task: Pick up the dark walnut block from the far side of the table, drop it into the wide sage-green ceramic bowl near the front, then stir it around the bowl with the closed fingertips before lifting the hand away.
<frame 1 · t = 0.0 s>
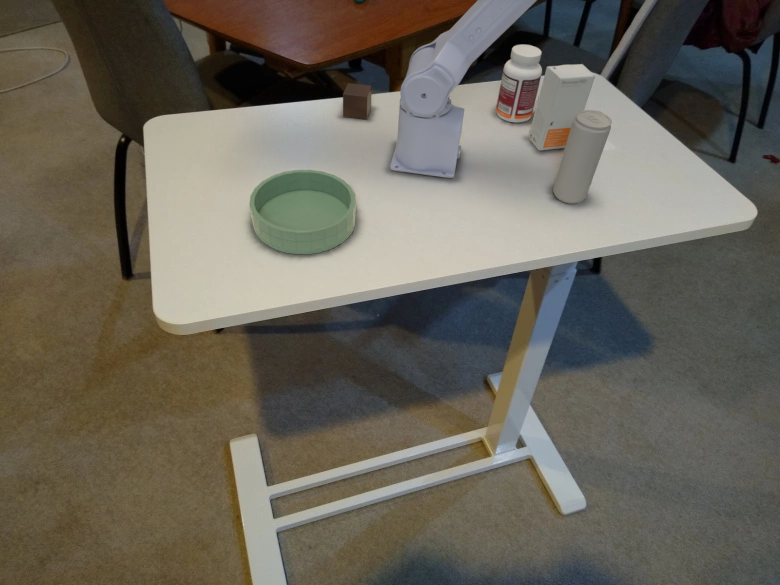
bowl: (304, 220, 75), on the table
beverage can: (567, 196, 82), on the table
cosmetic box: (549, 144, 92), on the table
block: (357, 112, 95), on the table
pill bottle: (512, 115, 98), on the table
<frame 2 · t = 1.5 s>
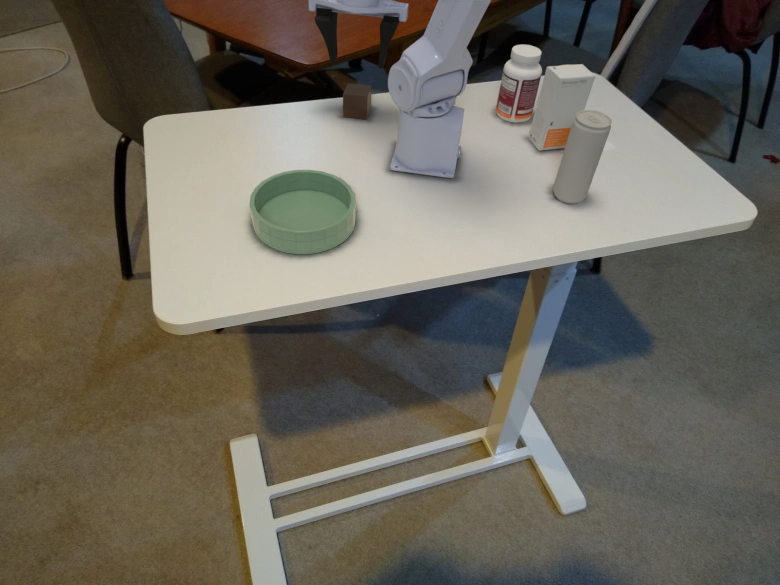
hand: (357, 62, 89), 8 cm above the table, tool pointing down, fingers open, 7 cm apart
nothing on the table moved.
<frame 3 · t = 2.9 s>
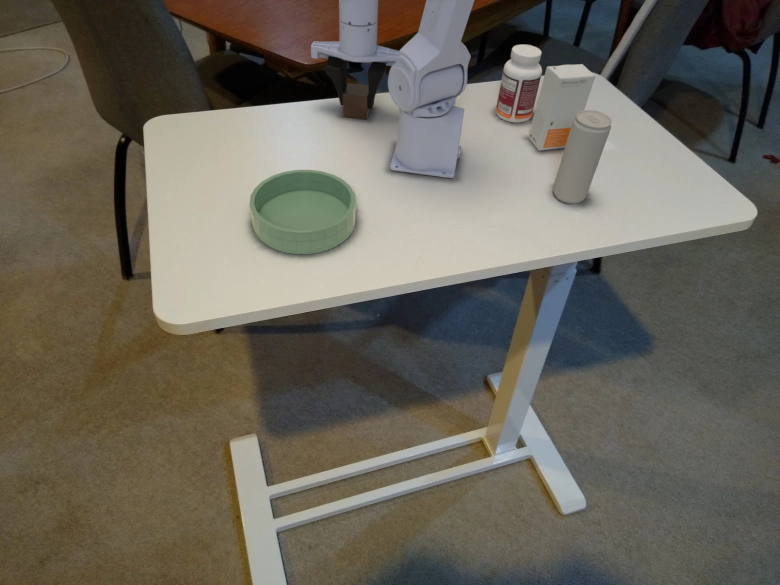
hand: (357, 104, 94), 1 cm above the table, tool pointing down, fingers closed on block, 4 cm apart
block: (357, 112, 95), on the table, touching gripper
everything else where it was.
when the fingers open (2 cm above the table, at t = 8.3 s): block stays where it is, resting on bowl.
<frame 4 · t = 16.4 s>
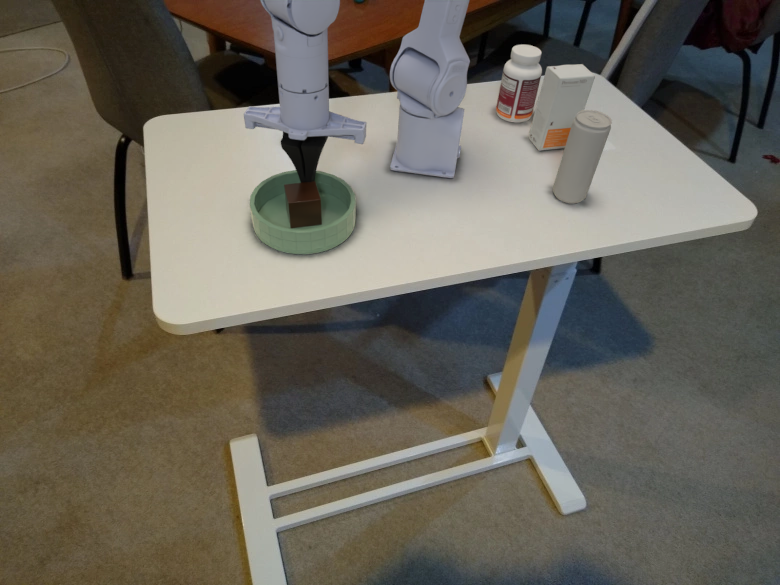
hand: (308, 182, 74), 4 cm above the table, tool pointing down, fingers closed
block: (303, 217, 74), point 1 cm above the table, touching bowl, gripper
everything else where it was.
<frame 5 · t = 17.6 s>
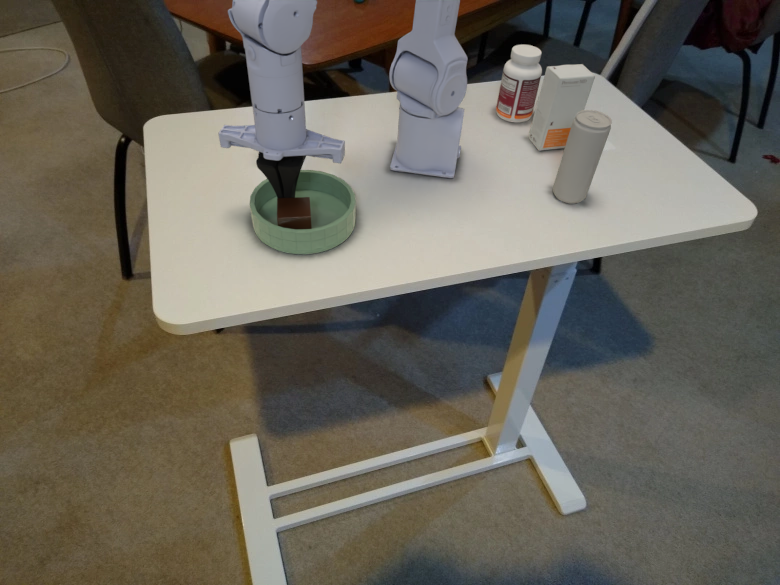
hand: (287, 201, 72), 3 cm above the table, tool pointing down, fingers closed, pressing on block
block: (295, 232, 72), point 1 cm above the table, touching bowl, gripper
everything else where it was.
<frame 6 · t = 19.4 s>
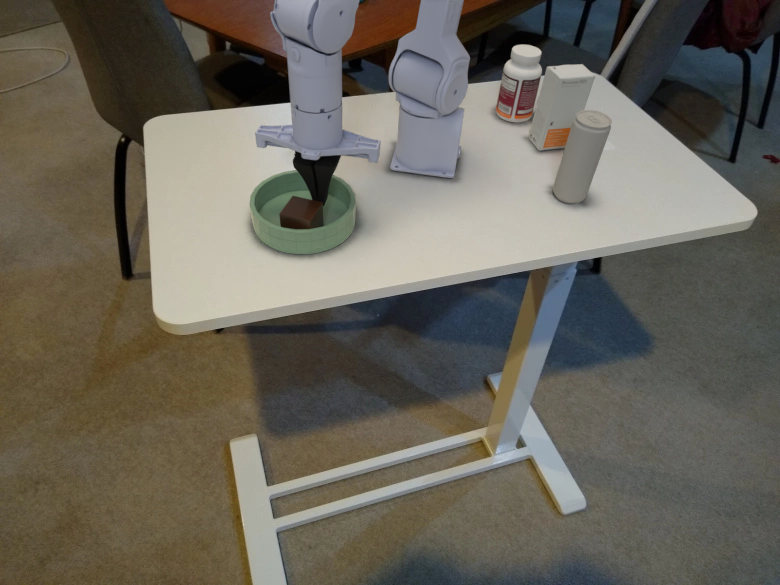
hand: (320, 201, 73), 3 cm above the table, tool pointing down, fingers closed
block: (303, 233, 72), point 1 cm above the table, touching bowl
everything else where it was.
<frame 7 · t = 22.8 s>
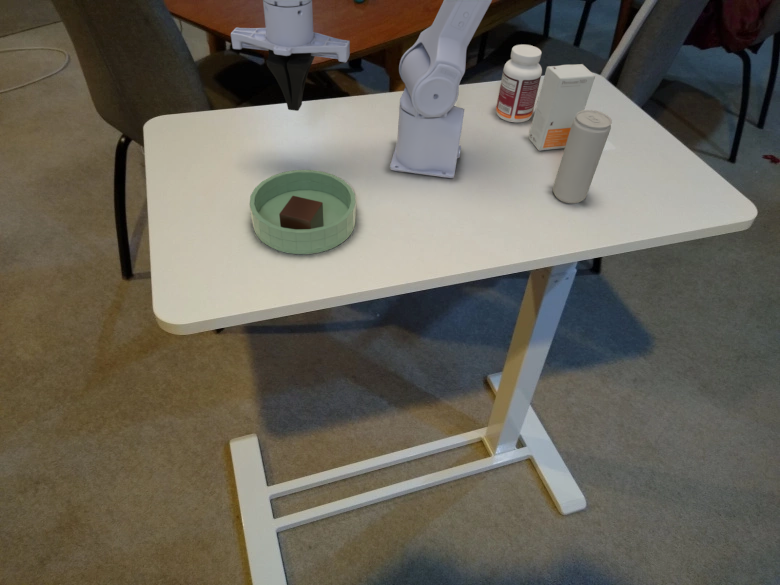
hand: (295, 106, 77), 9 cm above the table, tool pointing down, fingers closed
nothing on the table moved.
at the end: block inside the target area in the bowl (3.4 cm from its centre), point 0.6 cm above the bowl's base; the gripper is holding nothing; block moved 33.3 cm from its start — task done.
